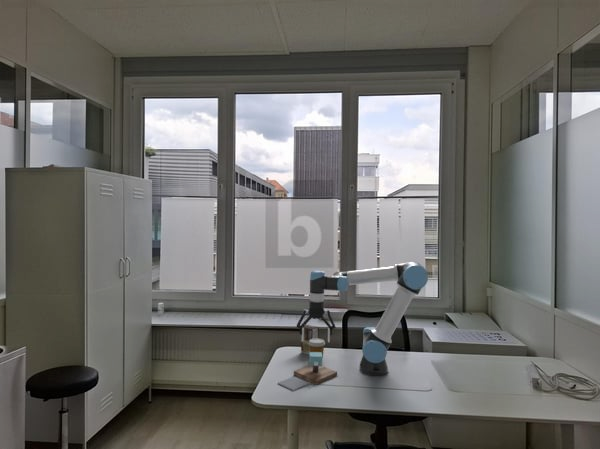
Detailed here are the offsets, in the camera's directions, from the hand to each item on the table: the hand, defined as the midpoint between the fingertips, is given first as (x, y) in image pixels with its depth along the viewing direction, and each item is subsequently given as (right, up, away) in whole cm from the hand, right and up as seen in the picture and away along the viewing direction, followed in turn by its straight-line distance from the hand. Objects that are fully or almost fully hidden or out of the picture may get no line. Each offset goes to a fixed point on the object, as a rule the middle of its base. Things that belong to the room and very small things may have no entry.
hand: (315, 341), depth 205 cm
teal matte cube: (0, -12, 0) cm, 12 cm away
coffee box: (-2, -17, +34) cm, 38 cm away
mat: (-11, -18, -11) cm, 24 cm away
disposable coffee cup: (+1, -18, +20) cm, 27 cm away
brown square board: (0, -18, 0) cm, 18 cm away
